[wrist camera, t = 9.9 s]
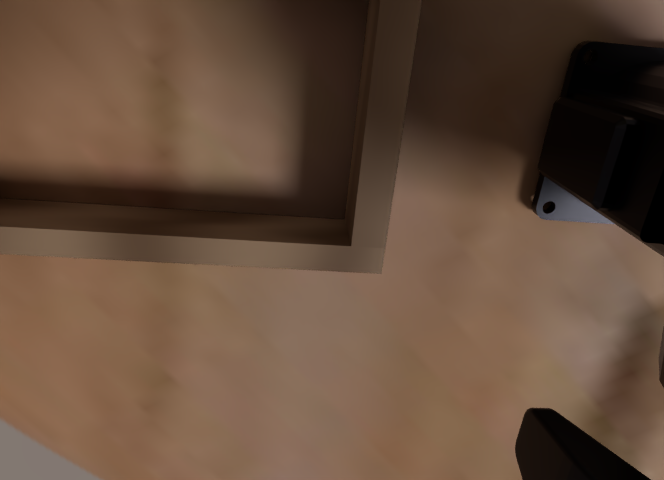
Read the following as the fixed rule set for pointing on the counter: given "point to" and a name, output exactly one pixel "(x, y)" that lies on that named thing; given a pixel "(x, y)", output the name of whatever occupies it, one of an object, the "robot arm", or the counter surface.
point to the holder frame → (255, 229)
